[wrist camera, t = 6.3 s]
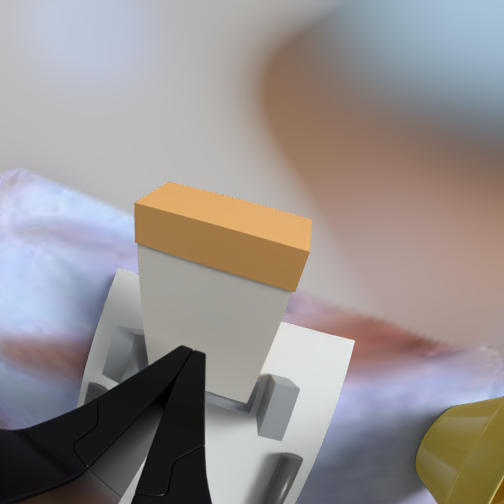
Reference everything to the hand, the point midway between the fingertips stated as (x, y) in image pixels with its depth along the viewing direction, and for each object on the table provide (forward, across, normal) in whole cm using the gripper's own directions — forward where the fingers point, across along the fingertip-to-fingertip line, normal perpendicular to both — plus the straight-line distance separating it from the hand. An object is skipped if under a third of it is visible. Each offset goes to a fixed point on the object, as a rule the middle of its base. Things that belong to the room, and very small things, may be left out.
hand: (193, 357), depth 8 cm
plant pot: (+3, -18, +8) cm, 20 cm away
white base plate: (+1, 0, +9) cm, 9 cm away
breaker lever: (+2, 0, +4) cm, 4 cm away
